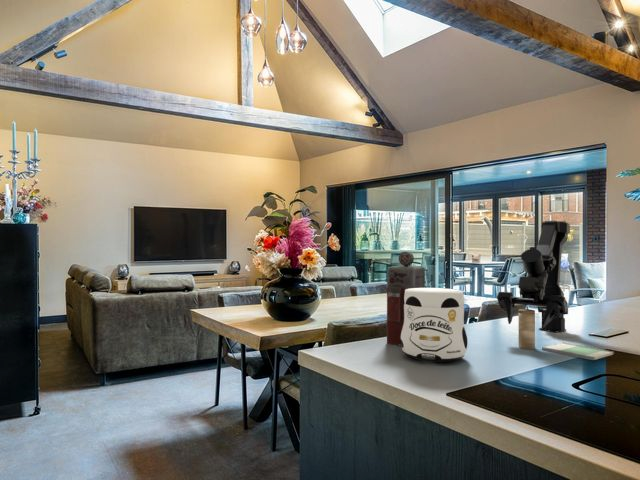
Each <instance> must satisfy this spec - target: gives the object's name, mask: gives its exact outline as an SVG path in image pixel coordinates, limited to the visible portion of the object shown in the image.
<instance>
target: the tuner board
mask: <svg viewBox="0 0 640 480" xmlns="http://www.w3.org/2000/svg"><path fill="white" fill-rule="evenodd" d="M541 350H542V351H546V350H547V352H551V353H556V354H561V355H565V356H570V357H576V358H582V359H585V360H589V361H595V360H596V361H597V360H598V359H603V358H606V357H610V356H613V355H614V354H615V351H612V350H611V351H610V350H606V349H600V348H595V347H591V346H590V347H589V346H585V345H584V346H583V345H579V344H575V343H574V344H573V343H567V342H563V341H562V342H561V343H556V344H552V345H548V346H543V347H541Z"/></svg>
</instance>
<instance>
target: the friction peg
mask: <svg viewBox="0 0 640 480" xmlns="http://www.w3.org/2000/svg"><path fill="white" fill-rule="evenodd" d="M518 348H520V349H523V350H535V348H536V310H535V309H529V308H520V309H518Z"/></svg>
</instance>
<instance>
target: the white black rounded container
mask: <svg viewBox="0 0 640 480" xmlns="http://www.w3.org/2000/svg"><path fill="white" fill-rule="evenodd" d="M404 303H405V304H404V325H403V328H402V332H401V345H400V346H401V350H402V352H403V353H404V354H405V355H406V356H408V357H410V358H413V359H416V360H419V361H425V362H434V363H445V362H447V363H448V362H453V361H457V360H460V359H463V357H465V356H466V353H467V348H468V337H467V336H468V335H467V332H466V328H465V320H464V319H465V306H464V305H465V298H464V291H463V290H459V289H453V288H443V287H425V288H410V289H406V290H405V295H404Z"/></svg>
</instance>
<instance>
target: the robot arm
mask: <svg viewBox="0 0 640 480" xmlns="http://www.w3.org/2000/svg"><path fill="white" fill-rule="evenodd" d="M540 226H541V228H540V229H541V230H540V231H541V232H540V235H539V238H538V242H537V246H530V247H529V249H527V250H525V251H523V252H522V253H521V254H520V259H521V262H522V266H523V269H524V272H525V273H526V274H527V275H526V276H519V279H518V287H517V288H519V294H520V296H514V295H513V292H512V291H511V292H510V291H499V292H498V293H497V295H496V300H497V302H498V305H499V308H500V309H501V310H503V311H504V312H506V315H507V323H508V325H511V323H512V321H513V317H514V314H515V306H516V305H524V306H528V307H537V312H538V313H541V327H539V328H538V330H541V331H546V332H550V333H551V332H552V333H561V332H565V331H567V329H566V319H565V317H564V316H565V315H569V307H568V301H567V299H566V296H565V293H564V291H563V289H562V288H561V286H560V284H561V281H560V280H561V268H562V267H561V266H562V255H563V254H562V251H563V250H562V249H563V246H564V245H565V243H566V242H567V241H568V237H569V234H570V233H571V225H570V223H568V222H567V221H566V220H545V221H542V222H541V225H540Z"/></svg>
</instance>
